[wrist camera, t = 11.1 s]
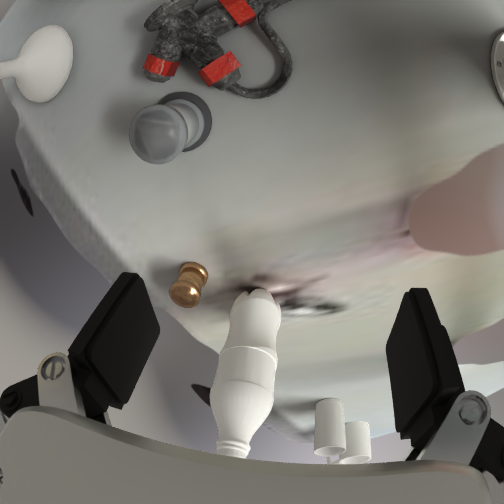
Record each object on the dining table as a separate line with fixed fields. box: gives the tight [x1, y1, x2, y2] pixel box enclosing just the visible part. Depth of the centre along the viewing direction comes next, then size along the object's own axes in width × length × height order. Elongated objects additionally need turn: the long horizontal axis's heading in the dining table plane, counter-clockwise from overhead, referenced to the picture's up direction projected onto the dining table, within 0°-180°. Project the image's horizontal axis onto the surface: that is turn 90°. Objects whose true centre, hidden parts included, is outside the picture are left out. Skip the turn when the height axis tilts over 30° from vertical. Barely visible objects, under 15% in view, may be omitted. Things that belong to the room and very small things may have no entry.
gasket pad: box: [158, 92, 212, 152], centre depth 32 cm, size 7×7×1 cm
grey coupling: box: [129, 99, 205, 164], centre depth 29 cm, size 6×6×7 cm
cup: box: [326, 421, 371, 464], centre depth 63 cm, size 8×12×10 cm
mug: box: [314, 398, 346, 456], centre depth 55 cm, size 10×7×12 cm, turn 36°
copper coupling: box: [169, 262, 208, 308], centre depth 41 cm, size 4×4×5 cm
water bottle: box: [210, 289, 281, 459], centre depth 34 cm, size 7×7×25 cm
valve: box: [143, 0, 292, 99], centre depth 24 cm, size 6×26×15 cm
